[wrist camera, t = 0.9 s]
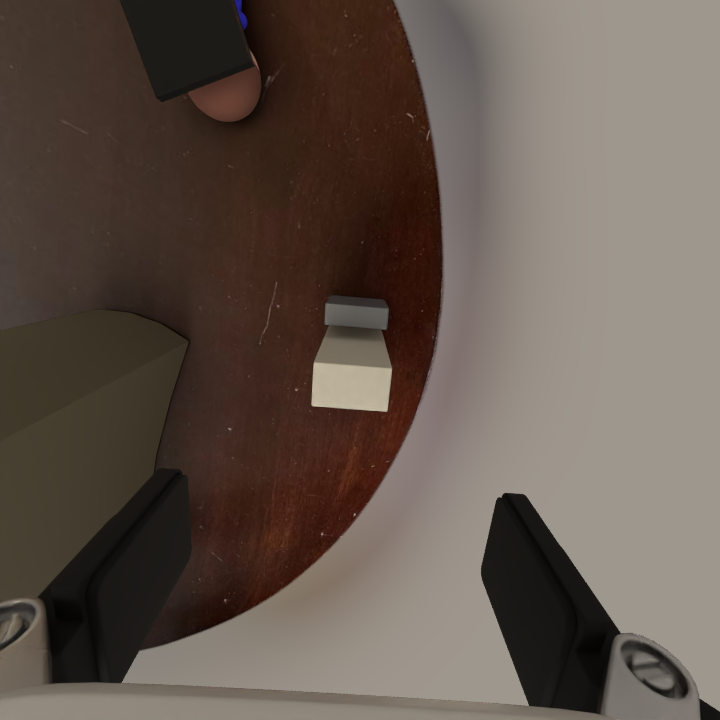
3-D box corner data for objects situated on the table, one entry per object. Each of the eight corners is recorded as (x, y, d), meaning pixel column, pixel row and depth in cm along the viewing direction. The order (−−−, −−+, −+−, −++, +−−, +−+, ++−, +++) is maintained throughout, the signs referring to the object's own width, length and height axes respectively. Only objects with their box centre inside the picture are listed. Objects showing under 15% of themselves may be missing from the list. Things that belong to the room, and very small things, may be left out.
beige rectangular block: (328, 325, 32) (313, 362, 21) (381, 329, 32) (392, 368, 21) (327, 355, 33) (311, 406, 22) (378, 360, 33) (387, 412, 22)
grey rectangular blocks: (330, 294, 31) (325, 302, 26) (384, 299, 31) (389, 308, 26) (325, 383, 33) (319, 405, 28) (375, 387, 33) (378, 410, 29)
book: (102, 300, 31) (-572, 430, 9) (193, 333, 32) (-206, 529, 9) (71, 473, 36) (-416, 847, 13) (150, 497, 37) (-183, 888, 14)
